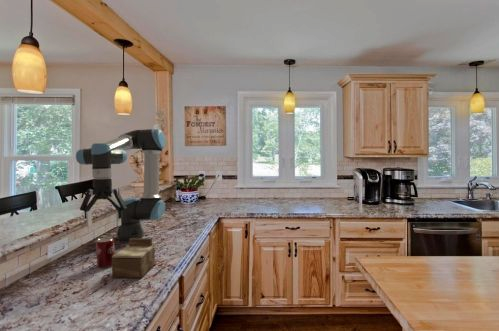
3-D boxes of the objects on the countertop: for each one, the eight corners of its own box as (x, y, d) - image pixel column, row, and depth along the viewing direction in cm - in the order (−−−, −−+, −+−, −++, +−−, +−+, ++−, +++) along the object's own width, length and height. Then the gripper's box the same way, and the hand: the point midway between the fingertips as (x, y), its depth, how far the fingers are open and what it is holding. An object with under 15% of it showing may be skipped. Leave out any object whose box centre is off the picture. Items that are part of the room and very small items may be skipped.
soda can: (95, 270, 127) (94, 242, 126) (99, 263, 134) (98, 238, 133) (113, 267, 129) (112, 241, 128) (116, 261, 136) (115, 236, 135)
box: (129, 265, 132) (128, 247, 131) (155, 265, 131) (154, 247, 130) (112, 278, 118) (111, 259, 117) (141, 278, 117) (140, 259, 116)
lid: (128, 246, 132) (128, 238, 131) (154, 246, 131) (154, 238, 131) (112, 257, 118) (111, 248, 117) (141, 258, 117) (140, 248, 117)
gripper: (69, 179, 126) (71, 227, 127) (125, 178, 125) (127, 227, 125) (80, 177, 134) (82, 223, 135) (133, 177, 132) (135, 223, 133)
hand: (104, 225), depth 130 cm, fingers open, 13 cm apart
